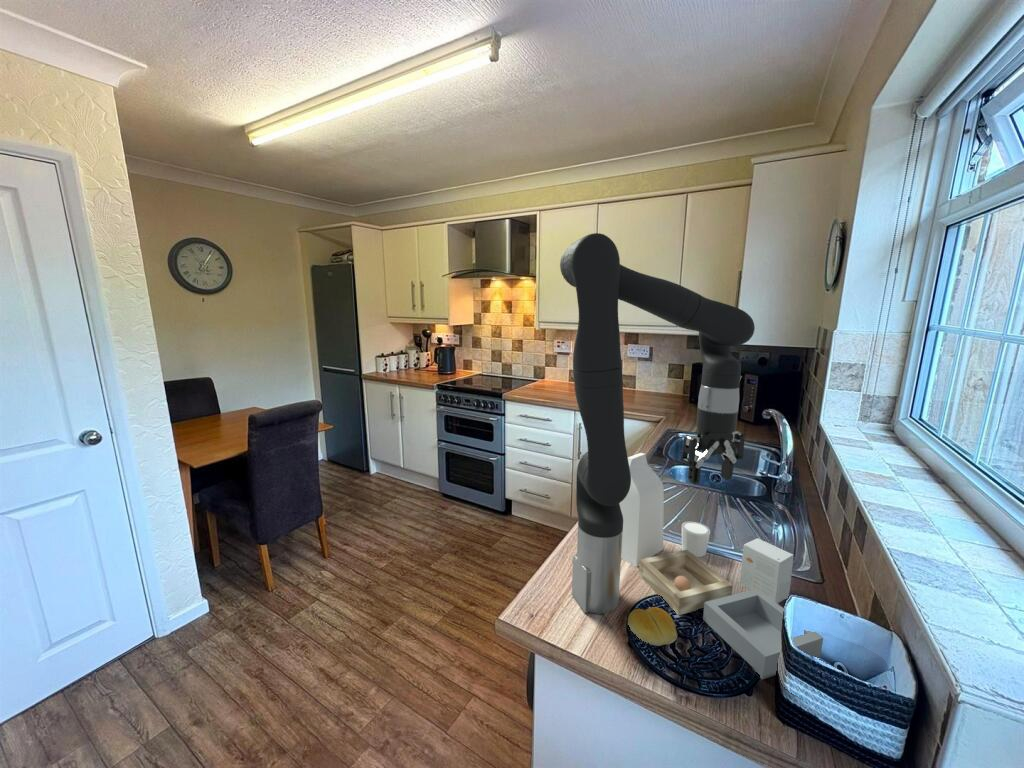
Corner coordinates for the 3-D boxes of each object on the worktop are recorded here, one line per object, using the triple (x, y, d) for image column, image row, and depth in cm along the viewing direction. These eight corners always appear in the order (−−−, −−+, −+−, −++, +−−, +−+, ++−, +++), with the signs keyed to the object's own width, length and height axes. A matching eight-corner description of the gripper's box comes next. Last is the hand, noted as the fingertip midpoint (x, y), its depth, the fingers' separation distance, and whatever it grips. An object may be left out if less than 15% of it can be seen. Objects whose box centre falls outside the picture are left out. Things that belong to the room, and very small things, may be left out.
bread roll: (621, 618, 82) (622, 601, 82) (662, 615, 83) (663, 597, 83) (638, 651, 74) (639, 633, 73) (684, 647, 75) (685, 628, 75)
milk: (636, 569, 98) (643, 468, 93) (598, 547, 107) (603, 454, 102) (662, 551, 105) (670, 456, 101) (625, 532, 114) (631, 445, 110)
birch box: (677, 617, 82) (679, 598, 81) (638, 576, 95) (639, 559, 94) (730, 603, 86) (732, 585, 85) (685, 566, 99) (686, 549, 98)
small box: (789, 598, 88) (795, 554, 86) (775, 607, 85) (781, 562, 83) (752, 577, 95) (757, 537, 93) (738, 585, 92) (743, 543, 90)
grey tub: (762, 679, 68) (765, 656, 68) (702, 621, 81) (704, 602, 80) (819, 659, 72) (823, 637, 72) (754, 607, 85) (756, 588, 84)
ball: (680, 597, 87) (681, 583, 87) (670, 587, 90) (671, 574, 90) (693, 594, 88) (694, 580, 88) (682, 584, 91) (683, 571, 91)
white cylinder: (683, 542, 110) (686, 518, 108) (711, 551, 105) (713, 526, 104) (675, 553, 104) (677, 528, 103) (704, 563, 100) (706, 538, 99)
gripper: (703, 413, 78) (696, 492, 81) (759, 409, 82) (750, 483, 85) (676, 405, 85) (670, 477, 88) (729, 401, 89) (722, 470, 92)
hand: (710, 480), depth 86 cm, fingers open, 8 cm apart
